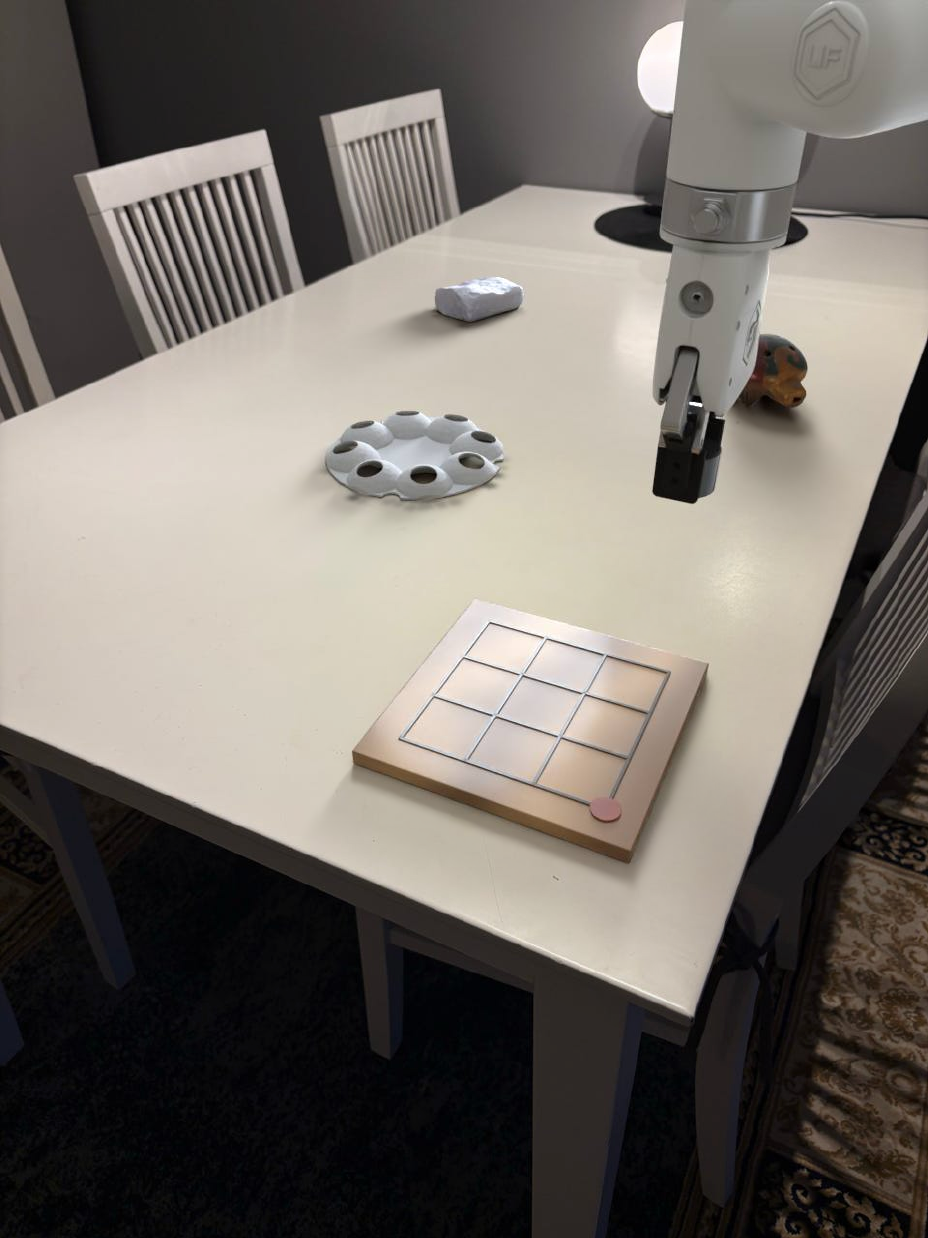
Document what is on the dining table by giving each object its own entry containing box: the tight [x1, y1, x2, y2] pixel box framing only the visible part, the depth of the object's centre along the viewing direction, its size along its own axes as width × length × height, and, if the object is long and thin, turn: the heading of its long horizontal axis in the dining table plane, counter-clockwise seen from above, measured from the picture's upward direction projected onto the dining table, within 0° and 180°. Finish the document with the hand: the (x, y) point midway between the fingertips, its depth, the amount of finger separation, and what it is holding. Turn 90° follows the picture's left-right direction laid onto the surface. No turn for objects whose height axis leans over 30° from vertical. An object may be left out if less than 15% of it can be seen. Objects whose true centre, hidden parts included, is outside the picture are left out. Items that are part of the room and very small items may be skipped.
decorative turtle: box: [738, 333, 809, 409], centre depth 111 cm, size 10×15×8 cm, turn 23°
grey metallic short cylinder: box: [698, 436, 723, 499], centre depth 65 cm, size 4×4×3 cm
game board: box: [351, 598, 710, 864], centre depth 67 cm, size 20×20×1 cm
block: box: [434, 276, 525, 323], centre depth 139 cm, size 12×5×10 cm
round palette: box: [325, 410, 505, 501], centre depth 100 cm, size 20×20×2 cm
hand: (685, 479), depth 65 cm, fingers closed on grey metallic short cylinder, 4 cm apart
